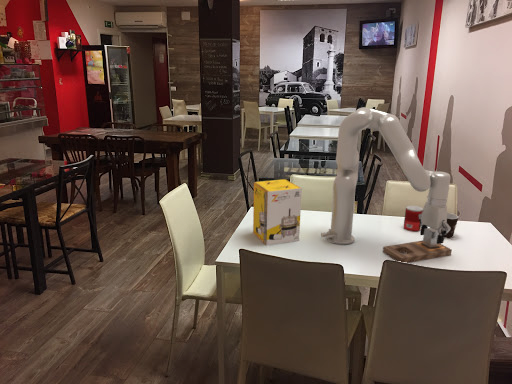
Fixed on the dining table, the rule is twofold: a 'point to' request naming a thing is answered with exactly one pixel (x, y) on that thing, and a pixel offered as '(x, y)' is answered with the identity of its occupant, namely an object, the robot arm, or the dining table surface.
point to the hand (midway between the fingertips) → (431, 238)
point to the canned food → (412, 218)
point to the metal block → (430, 238)
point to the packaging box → (276, 211)
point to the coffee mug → (451, 224)
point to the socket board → (415, 251)
